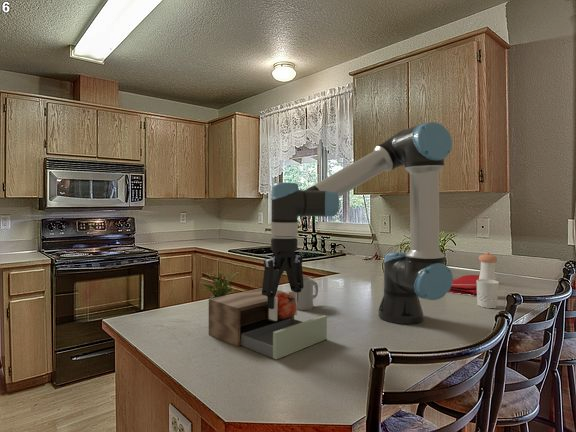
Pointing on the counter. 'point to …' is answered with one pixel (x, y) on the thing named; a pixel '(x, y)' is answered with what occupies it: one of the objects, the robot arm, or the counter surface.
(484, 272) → the pepper shaker
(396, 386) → the counter surface
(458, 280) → the dish drying mat
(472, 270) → the counter surface
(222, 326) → the cabinet box
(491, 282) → the white cup
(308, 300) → the mug
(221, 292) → the house plant
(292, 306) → the pomegranate
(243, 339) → the drawer
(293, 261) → the robot arm
